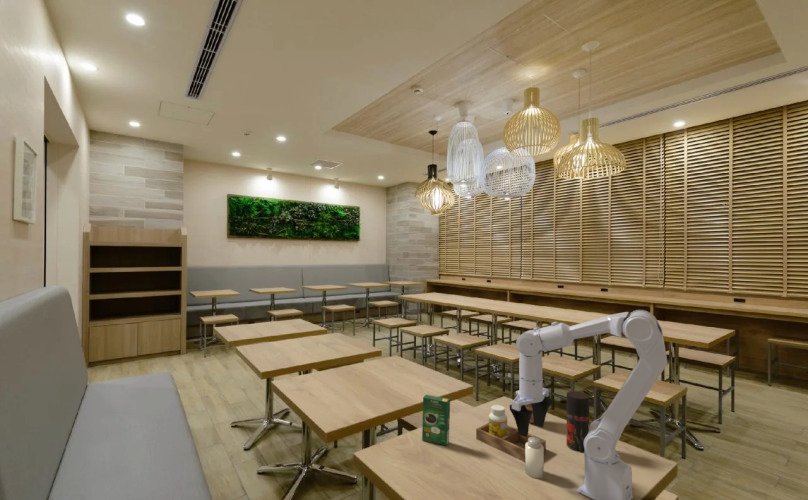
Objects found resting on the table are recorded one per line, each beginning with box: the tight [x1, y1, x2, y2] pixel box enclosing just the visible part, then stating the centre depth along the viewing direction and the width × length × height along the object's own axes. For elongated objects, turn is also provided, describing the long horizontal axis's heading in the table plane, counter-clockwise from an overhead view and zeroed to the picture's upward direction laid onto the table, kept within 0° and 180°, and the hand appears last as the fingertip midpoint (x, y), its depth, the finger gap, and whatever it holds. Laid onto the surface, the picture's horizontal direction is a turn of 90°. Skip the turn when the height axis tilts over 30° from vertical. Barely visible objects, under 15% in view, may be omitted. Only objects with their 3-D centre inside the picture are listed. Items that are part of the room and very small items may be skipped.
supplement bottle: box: [488, 404, 508, 438], centre depth 112 cm, size 5×5×10 cm
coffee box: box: [421, 394, 451, 446], centre depth 111 cm, size 8×3×13 cm, turn 67°
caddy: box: [475, 422, 547, 463], centre depth 109 cm, size 17×10×3 cm, turn 41°
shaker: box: [524, 436, 545, 479], centre depth 95 cm, size 4×4×8 cm
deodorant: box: [566, 390, 590, 453], centre depth 108 cm, size 6×6×15 cm
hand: (531, 430), depth 96 cm, fingers open, 7 cm apart
